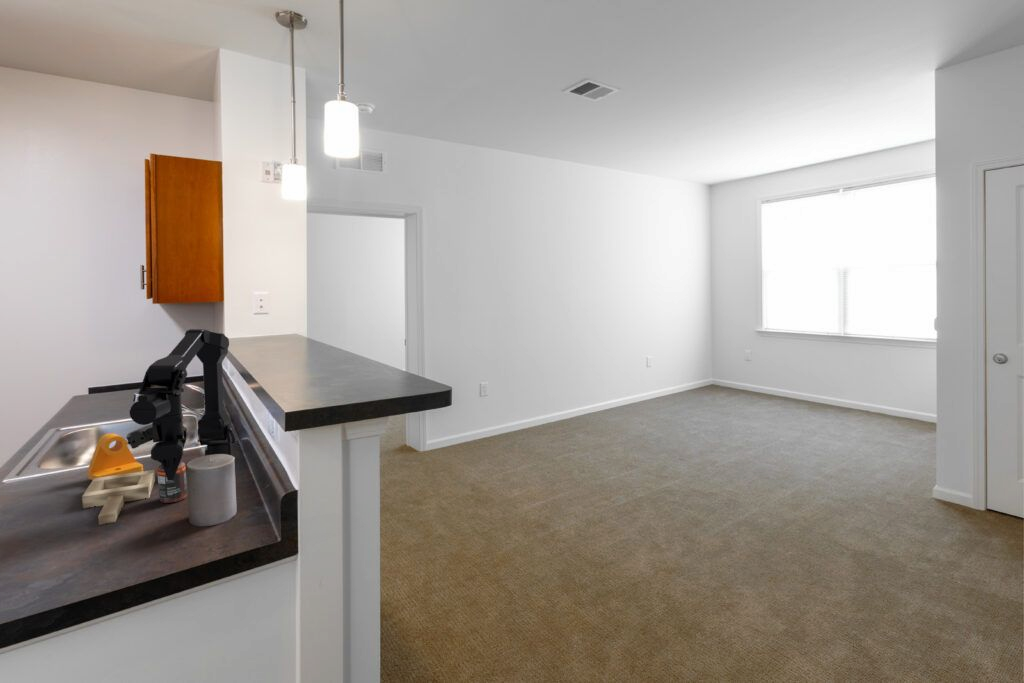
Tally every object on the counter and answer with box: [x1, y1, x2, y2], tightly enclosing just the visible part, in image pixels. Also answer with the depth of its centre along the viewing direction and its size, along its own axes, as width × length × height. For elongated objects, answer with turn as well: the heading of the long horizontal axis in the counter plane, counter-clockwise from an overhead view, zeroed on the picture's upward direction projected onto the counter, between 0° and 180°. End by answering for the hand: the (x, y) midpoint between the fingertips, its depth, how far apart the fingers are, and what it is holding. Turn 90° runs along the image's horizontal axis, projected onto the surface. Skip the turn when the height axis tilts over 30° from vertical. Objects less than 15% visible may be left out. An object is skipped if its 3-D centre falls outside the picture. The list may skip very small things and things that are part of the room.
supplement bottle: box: [156, 460, 188, 504], centre depth 127 cm, size 6×6×11 cm
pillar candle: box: [186, 454, 238, 527], centre depth 117 cm, size 10×10×15 cm
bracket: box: [86, 432, 144, 482], centre depth 140 cm, size 11×7×12 cm, turn 147°
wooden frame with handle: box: [81, 469, 156, 526], centre depth 125 cm, size 13×25×3 cm, turn 30°
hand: (172, 474), depth 127 cm, fingers open, 9 cm apart
